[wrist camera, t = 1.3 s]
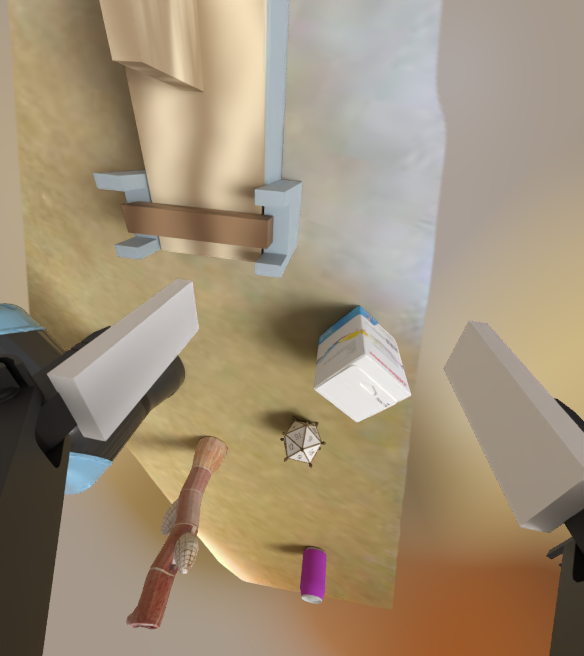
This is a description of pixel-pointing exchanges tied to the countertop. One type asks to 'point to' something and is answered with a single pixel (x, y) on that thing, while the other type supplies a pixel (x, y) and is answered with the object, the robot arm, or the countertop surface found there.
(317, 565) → the beverage can
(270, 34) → the grey box with brackets
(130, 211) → the cross bar
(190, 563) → the vase
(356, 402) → the ink box
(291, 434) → the game die
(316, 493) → the countertop surface
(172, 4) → the lid
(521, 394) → the robot arm
